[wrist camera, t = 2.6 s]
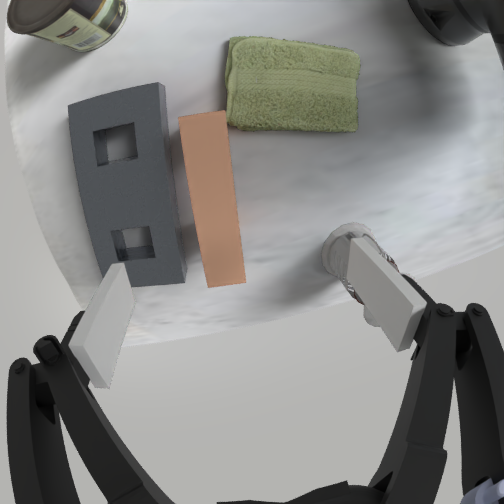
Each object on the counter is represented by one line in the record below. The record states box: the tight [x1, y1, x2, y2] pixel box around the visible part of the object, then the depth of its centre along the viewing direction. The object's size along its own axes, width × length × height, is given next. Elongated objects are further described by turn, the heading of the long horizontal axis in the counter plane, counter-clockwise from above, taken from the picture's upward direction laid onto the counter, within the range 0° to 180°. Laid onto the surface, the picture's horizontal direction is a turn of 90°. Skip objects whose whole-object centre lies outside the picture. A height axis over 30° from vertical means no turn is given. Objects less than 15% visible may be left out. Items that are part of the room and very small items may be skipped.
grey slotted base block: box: [68, 82, 187, 287], centre depth 33 cm, size 26×12×4 cm, turn 3°
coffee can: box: [7, 0, 128, 52], centre depth 16 cm, size 10×10×14 cm
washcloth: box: [225, 36, 360, 132], centre depth 30 cm, size 13×18×3 cm
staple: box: [178, 110, 246, 288], centre depth 30 cm, size 17×4×12 cm, turn 6°
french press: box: [321, 222, 417, 327], centre depth 32 cm, size 10×12×25 cm
